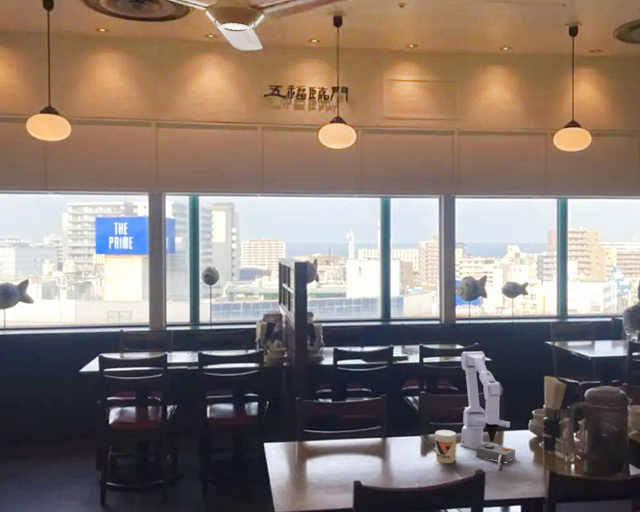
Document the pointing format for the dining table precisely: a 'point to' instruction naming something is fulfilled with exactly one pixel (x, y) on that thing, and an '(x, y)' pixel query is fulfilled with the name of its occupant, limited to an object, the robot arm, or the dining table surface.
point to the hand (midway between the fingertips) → (492, 441)
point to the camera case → (495, 452)
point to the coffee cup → (445, 445)
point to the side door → (499, 461)
